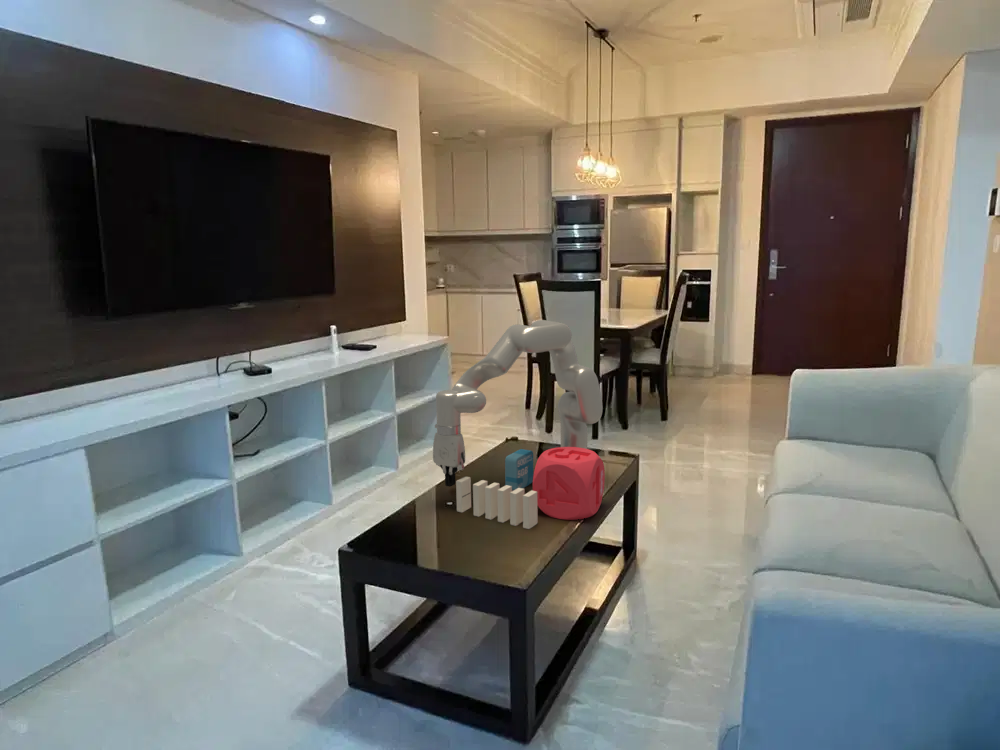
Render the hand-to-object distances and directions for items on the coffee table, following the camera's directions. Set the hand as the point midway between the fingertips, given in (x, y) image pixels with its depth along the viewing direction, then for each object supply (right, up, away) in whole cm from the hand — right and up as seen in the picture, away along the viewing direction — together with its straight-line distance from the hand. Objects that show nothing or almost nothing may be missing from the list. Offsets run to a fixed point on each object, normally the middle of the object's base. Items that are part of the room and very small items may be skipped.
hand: (450, 485), depth 213 cm
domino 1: (+4, -7, -2) cm, 9 cm away
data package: (+23, -4, +19) cm, 30 cm away
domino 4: (+17, -9, -10) cm, 22 cm away
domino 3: (+14, -8, -8) cm, 18 cm away
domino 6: (+25, -10, -15) cm, 31 cm away
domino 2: (+10, -8, -5) cm, 14 cm away
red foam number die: (+38, -7, -3) cm, 39 cm away
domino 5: (+21, -9, -12) cm, 26 cm away
